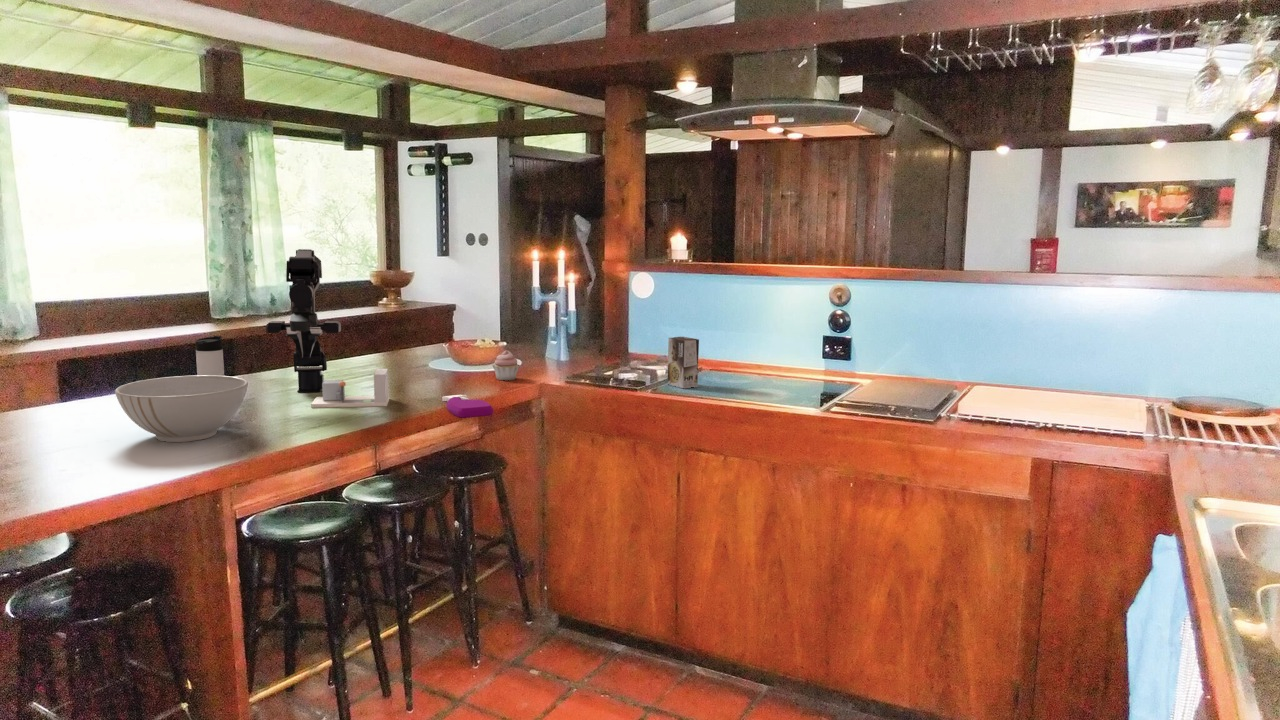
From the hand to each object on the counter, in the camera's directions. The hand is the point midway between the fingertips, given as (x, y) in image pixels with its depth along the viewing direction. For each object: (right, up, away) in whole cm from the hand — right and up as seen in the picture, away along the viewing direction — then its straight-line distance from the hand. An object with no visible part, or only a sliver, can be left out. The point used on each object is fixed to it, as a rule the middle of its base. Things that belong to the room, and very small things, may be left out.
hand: (305, 357), depth 223 cm
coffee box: (+108, -10, +43) cm, 117 cm away
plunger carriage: (+7, -12, +2) cm, 14 cm away
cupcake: (+48, -7, +47) cm, 68 cm away
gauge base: (+13, -13, +4) cm, 18 cm away
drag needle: (+10, -12, 0) cm, 16 cm away
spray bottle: (+44, -15, +1) cm, 47 cm away
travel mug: (-20, -15, -11) cm, 27 cm away
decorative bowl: (-13, -19, -36) cm, 43 cm away
